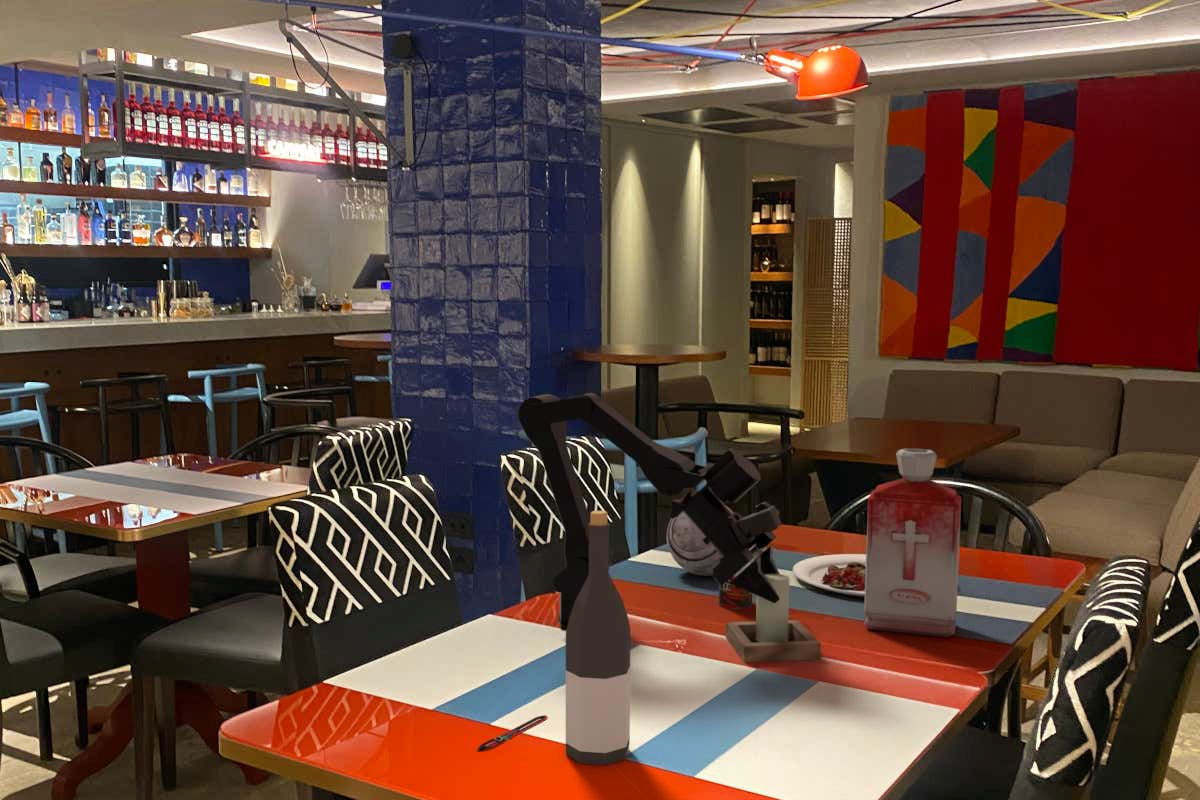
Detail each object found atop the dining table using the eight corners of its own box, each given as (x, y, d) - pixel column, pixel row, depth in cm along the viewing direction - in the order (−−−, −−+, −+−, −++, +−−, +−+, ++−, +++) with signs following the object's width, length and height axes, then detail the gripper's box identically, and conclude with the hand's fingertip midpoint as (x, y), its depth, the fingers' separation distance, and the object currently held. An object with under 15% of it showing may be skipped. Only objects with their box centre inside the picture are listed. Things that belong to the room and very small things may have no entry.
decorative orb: (654, 576, 221) (654, 501, 220) (688, 561, 233) (689, 489, 232) (723, 588, 213) (724, 509, 212) (754, 571, 226) (756, 497, 224)
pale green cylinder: (772, 646, 176) (773, 583, 174) (749, 638, 179) (750, 576, 178) (794, 640, 179) (796, 578, 177) (771, 632, 182) (772, 571, 181)
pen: (552, 719, 151) (552, 714, 151) (484, 755, 139) (484, 750, 139) (540, 716, 152) (540, 711, 152) (472, 752, 140) (471, 746, 140)
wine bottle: (608, 771, 134) (610, 522, 131) (552, 755, 138) (552, 514, 135) (642, 747, 141) (644, 510, 138) (587, 733, 145) (588, 502, 142)
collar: (744, 662, 172) (744, 646, 172) (725, 637, 184) (726, 622, 184) (820, 659, 174) (820, 643, 174) (797, 634, 186) (798, 620, 186)
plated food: (970, 576, 224) (971, 560, 224) (925, 614, 199) (926, 595, 198) (826, 556, 240) (826, 540, 240) (767, 588, 215) (767, 570, 214)
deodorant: (714, 607, 201) (716, 524, 200) (723, 598, 207) (725, 517, 205) (747, 611, 199) (749, 527, 197) (755, 602, 204) (757, 520, 203)
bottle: (956, 623, 193) (963, 448, 189) (954, 641, 183) (961, 457, 180) (869, 614, 197) (874, 443, 194) (862, 631, 188) (868, 452, 184)
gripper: (734, 499, 169) (806, 579, 166) (765, 478, 186) (830, 551, 184) (683, 545, 173) (752, 625, 170) (717, 521, 190) (780, 593, 187)
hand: (781, 596), depth 178 cm, fingers closed on pale green cylinder, 5 cm apart
